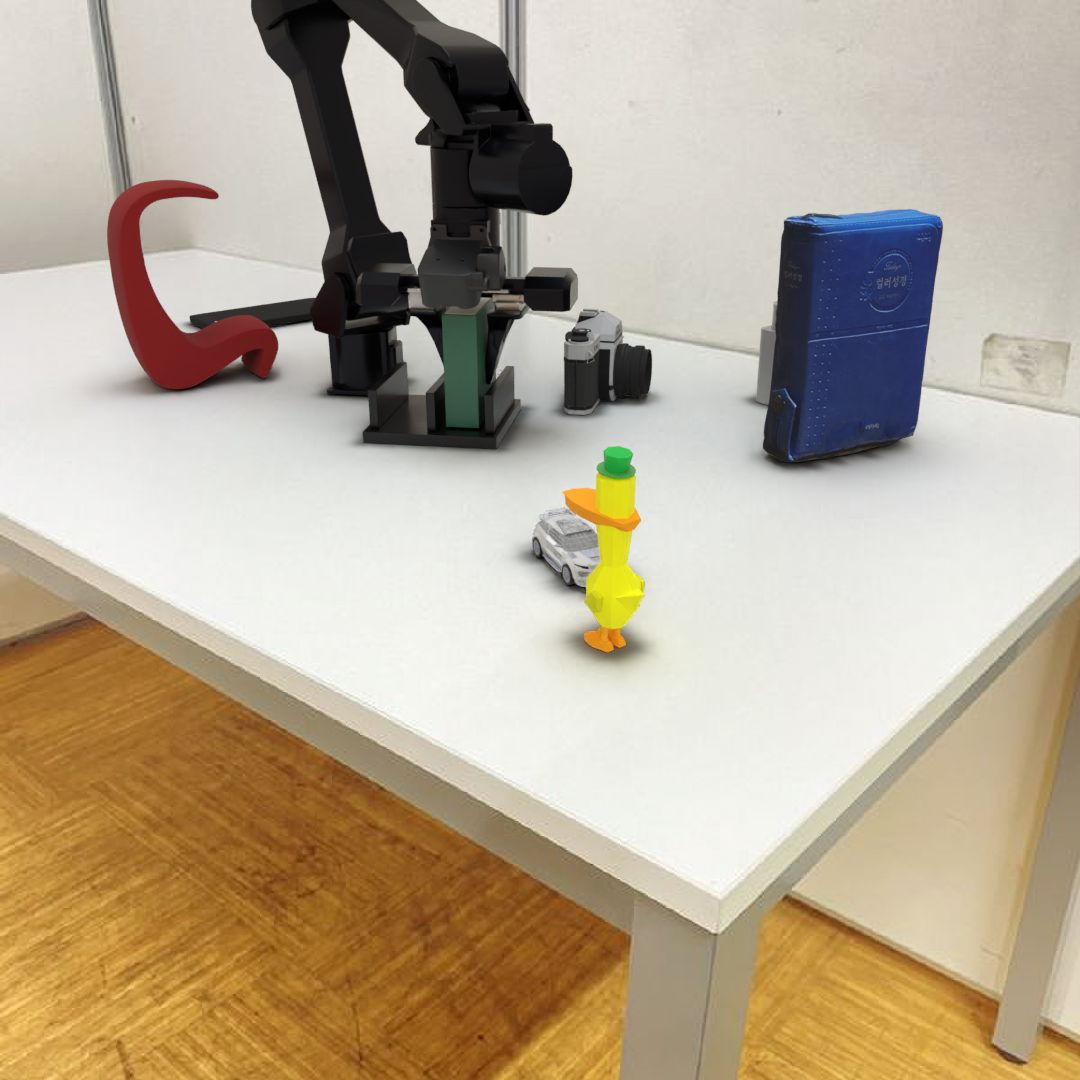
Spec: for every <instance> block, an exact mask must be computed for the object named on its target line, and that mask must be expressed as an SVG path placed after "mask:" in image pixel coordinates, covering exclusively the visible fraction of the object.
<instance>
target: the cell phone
mask: <svg viewBox="0 0 1080 1080" xmlns="http://www.w3.org/2000/svg"><path fill="white" fill-rule="evenodd" d="M315 298H316V297H307V298H298V299H292V300H286V301H279V302H272V303H266V304H265V303H264V304H258V305H251V306H244V307H236V308H231V309H223V310H217V311H210V312H203V313H196V314H191V315H189V323H190V324H192V325H194V326H197V327H199V328H201V329H203V328H205V327H207V326H209V325H211V324H213V323H216V322H218V321H220V320H223V319H226V318H229V317H233V316H240V315H250V316H253V317H256V318H258V319H259V320H261V321H262V322H264V323H265V324H267V325H268V326H269V327H272V326H278V325H284V324H290V323H297V322H303V321H309V320H312V319H311V315H310V307H311V306H312V304H313V302H314V300H315Z"/></svg>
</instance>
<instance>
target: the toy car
mask: <svg viewBox="0 0 1080 1080" xmlns="http://www.w3.org/2000/svg"><path fill="white" fill-rule="evenodd" d="M531 543H532V550H533V554H534V555H535V557H536V558H544V559H545V561H546V562H547V563H548V564H549V565H550V566H551V567H552V568H553V569H554V570H555V571H556V572H558V573H561V576H562V580H563V581H564V583H565V585H567V586H572V585H577V586H579V587H583V588H586V579H587V578H588V577H589V575H590V574H591V573H592V572H593V571H594V569H595V568H596V567H597V566H598V564H599V563H600V553H599V545H598V536H597V531H595V530H594V529H593V527H591V525H589V523H587V522H585V521H584V520H583V519H581V517H579V516H578V515H576V514H575V513H573V512H572V511H571V510H570V509H569V508H568V507H566V506H565V507H561V508H555V509H554V508H553V509H549V510H545V511H543V512H542V513H541V514H540V515H539V521H538V522H537V523H536V524H535V527H534V529H533V532H532V541H531Z"/></svg>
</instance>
